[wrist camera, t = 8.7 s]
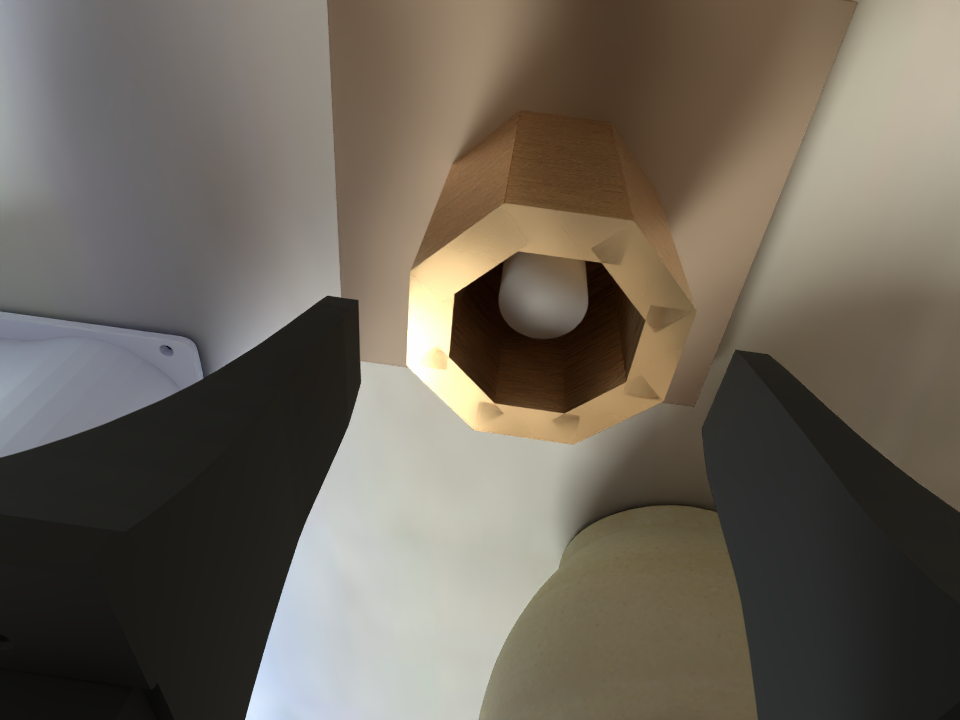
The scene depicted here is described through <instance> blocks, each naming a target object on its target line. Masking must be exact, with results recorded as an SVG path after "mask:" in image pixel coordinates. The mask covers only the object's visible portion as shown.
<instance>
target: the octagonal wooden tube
mask: <svg viewBox="0 0 960 720" xmlns="http://www.w3.org/2000/svg"><path fill="white" fill-rule="evenodd" d="M517 251H520V252H527V253H535V254H542V255H549V256H556V257H564V258H571V259H578V260H585V261H592V263H590V264H589V265H587V266H586V276H587V290H588V307H587V311H586V314H585V316H584V318H583V319H582V321H581V322H580V323H579V324H578V325H577V326H576V327H575V328H574V329H573V330H571V331H570V332H568V333H566V334H564V335H562V336H559V337H555V338H549V339H538V338H532V337H528V336H525V335H523V334H520V333H519V332H517V331H515V330H514V329H513V328H512V327H510V326H509V325H508V323H507V322H506V321H505V320H504V318H503V316H502V314H501V312H500V308H499V291H500V285H501V278H502V271H503V264H502V262H503V261H504V260H506V259H507V258H509V257H510V256H512V255H513V254H514V253H516V252H517ZM696 313H697V310H696V307H695V304H694V301H693V298H692V295H691V292H690V289H689V286H688V283H687V280H686V277H685V274H684V271H683V268H682V265H681V262H680V259H679V256H678V253H677V250H676V247H675V244H674V241H673V238H672V235H671V232H670V229H669V226H668V223H667V220H666V217H665V214H664V211H663V208H662V205H661V202H660V199H659V196H658V193H657V191H656V189H655V188H654V186H653V185H652V183H651V182H650V180H649V179H648V177H647V176H646V174H645V173H644V171H643V170H642V168H641V167H640V165H639V164H638V162H637V161H636V159H635V158H634V156H633V155H632V153H631V152H630V150H629V149H628V147H627V146H626V144H625V143H624V141H623V140H622V138H621V137H620V135H619V134H618V132H617V131H616V129H615V128H614V126H613V125H612V123H611V122H606V121H599V120H591V119H584V118H576V117H569V116H561V115H554V114H546V113H539V112H532V111H524V110H521V111H518V112H517V113H516V114H515V115H513V116H512V117H511V118H510V119H508V120H507V121H506V122H505V123H503V124H502V125H501V126H500V127H498V128H497V129H496V130H495V131H493V132H492V133H491V134H490V135H488V136H487V137H486V138H485V139H483V140H482V141H481V142H480V143H478V144H477V145H476V146H475V147H473V148H472V149H471V150H470V151H468V152H467V153H466V154H464V155H463V156H462V157H461V158H459V159H458V160H457V161H456V162H454V163H453V164H452V166H451V169H450V171H449V174H448V176H447V179H446V181H445V184H444V186H443V189H442V192H441V194H440V197H439V199H438V202H437V204H436V207H435V209H434V212H433V214H432V217H431V220H430V222H429V225H428V227H427V230H426V232H425V235H424V237H423V240H422V243H421V245H420V248H419V250H418V253H417V255H416V258H415V260H414V263H413V265H412V268H411V271H410V288H409V315H408V341H407V366H408V367H409V368H410V369H411V370H412V371H413V372H414V373H416V374H417V375H418V376H419V377H420V378H421V379H422V380H423V381H424V382H425V383H426V384H427V385H428V386H429V387H430V388H431V389H432V390H433V391H434V392H435V393H436V394H437V395H438V396H439V397H440V398H441V399H442V400H443V401H444V402H446V403H447V404H448V405H449V406H450V407H451V408H452V409H453V410H454V411H455V412H456V413H457V414H458V415H459V416H460V417H461V418H462V419H463V420H464V421H465V422H466V423H467V424H468V425H469V426H470V427H471V428H472V429H473V430H476V431H483V432H490V433H497V434H504V435H511V436H518V437H525V438H531V439H538V440H545V441H552V442H559V443H566V444H576V443H578V442H580V441H582V440H584V439H586V438H588V437H590V436H592V435H594V434H596V433H599V432H601V431H603V430H605V429H607V428H609V427H611V426H613V425H615V424H617V423H620V422H622V421H624V420H626V419H628V418H630V417H632V416H634V415H636V414H638V413H640V412H643V411H645V410H647V409H649V408H651V407H653V406H655V405H657V404H659V403H661V402H663V401H664V399H665V396H666V394H667V391H668V388H669V385H670V383H671V380H672V377H673V375H674V372H675V369H676V367H677V364H678V361H679V359H680V356H681V353H682V350H683V348H684V345H685V342H686V340H687V337H688V334H689V332H690V329H691V326H692V324H693V321H694V318H695V315H696Z"/></svg>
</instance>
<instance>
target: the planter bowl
mask: <svg viewBox="0 0 960 720" xmlns="http://www.w3.org/2000/svg"><path fill="white" fill-rule="evenodd" d="M479 720H758V717H757V708H756V700H755V692H754V685H753V677H752V670H751V662H750V655H749V648H748V642H747V636H746V630H745V623H744V617H743V611H742V605H741V600H740V595H739V591H738V587H737V582H736V578H735V574H734V571H733V567H732V564H731V560H730V557H729V553H728V549H727V546H726V542H725V539H724V535H723V532H722V528H721V524H720V521H719V517H718V514H717V512H714V511H710V510H706V509H701V508H696V507H689V506H678V505H663V506H649V507H642V508H635V509H631V510H627V511H623V512H619V513H616V514H613V515H610V516H608V517H606V518H603V519H601V520H599V521H597V522H595V523H593V524H591V525H590V526H588V527H587V528H585V529H584V530H582V531H581V532H580V533H579V534H578V535H577V536H576V537H575V538H574V539H573V540H572V541H571V542H570V543H569V545H568V546H567V548H566V549H565V551H564V553H563V555H562V558H561V561H560V565H559V569H558V570H557V571H556V572H555V573H554V574H553V575H552V576H551V577H550V578H549V579H548V580H547V582H546V583H545V584H544V585H543V586H542V587H541V588H540V590H539V591H538V592H537V593H536V595H535V596H534V597H533V598H532V600H531V601H530V602H529V604H528V605H527V607H526V608H525V610H524V611H523V613H522V614H521V616H520V617H519V619H518V620H517V622H516V624H515V625H514V627H513V629H512V630H511V632H510V633H509V635H508V637H507V639H506V641H505V643H504V645H503V647H502V650H501V652H500V654H499V656H498V658H497V661H496V663H495V666H494V668H493V671H492V674H491V677H490V680H489V683H488V686H487V689H486V692H485V696H484V700H483V703H482V707H481V711H480V716H479Z"/></svg>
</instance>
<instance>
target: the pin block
mask: <svg viewBox="0 0 960 720" xmlns="http://www.w3.org/2000/svg"><path fill="white" fill-rule="evenodd" d="M327 4H328V25H329V46H330V67H331V88H332V110H333V131H334V152H335V173H336V194H337V215H338V236H339V258H340V279H341V298H348V299H355V300H359V333H360V361H364V362H371V363H379V364H386V365H393V366H401V367H408V366H407V341H408V315H409V288H410V271H411V268H412V265H413V263H414V260H415V258H416V255H417V253H418V250H419V248H420V245H421V243H422V240H423V237H424V235H425V232H426V230H427V227H428V225H429V222H430V220H431V217H432V214H433V212H434V209H435V207H436V204H437V202H438V199H439V197H440V194H441V192H442V189H443V186H444V184H445V181H446V179H447V176H448V174H449V171H450V169H451V166H452V164H453V163H454V162H456V161H457V160H458V159H459V158H461V157H462V156H463V155H464V154H466V153H467V152H468V151H470V150H471V149H472V148H473V147H475V146H476V145H477V144H478V143H480V142H481V141H482V140H483V139H485V138H486V137H487V136H488V135H490V134H491V133H492V132H493V131H495V130H496V129H497V128H498V127H500V126H501V125H502V124H503V123H505V122H506V121H507V120H508V119H510V118H511V117H512V116H513V115H515V114H516V113H517V112H518V111H521V110H524V111H532V112H539V113H546V114H554V115H561V116H569V117H576V118H584V119H591V120H599V121H606V122H611V123H612V125H613V126H614V128H615V129H616V131H617V132H618V134H619V135H620V137H621V138H622V140H623V141H624V143H625V144H626V146H627V147H628V149H629V150H630V152H631V153H632V155H633V156H634V158H635V159H636V161H637V162H638V164H639V165H640V167H641V168H642V170H643V171H644V173H645V174H646V176H647V177H648V179H649V180H650V182H651V183H652V185H653V186H654V188H655V189H656V191H657V193H658V196H659V199H660V202H661V205H662V208H663V211H664V214H665V217H666V220H667V223H668V226H669V229H670V232H671V235H672V238H673V241H674V244H675V247H676V250H677V253H678V256H679V259H680V262H681V265H682V268H683V271H684V274H685V277H686V280H687V283H688V286H689V289H690V292H691V295H692V298H693V301H694V304H695V307H696V310H697V313H696V315H695V318H694V321H693V324H692V326H691V329H690V332H689V334H688V337H687V340H686V342H685V345H684V348H683V350H682V353H681V356H680V359H679V361H678V364H677V367H676V369H675V372H674V375H673V377H672V380H671V383H670V385H669V388H668V391H667V394H666V396H665V399H664V401H663V403H670V404H677V405H685V406H692V407H694V406H695V404H696V401H697V399H698V396H699V394H700V391H701V389H702V387H703V384H704V382H705V379H706V377H707V374H708V372H709V369H710V367H711V364H712V362H713V359H714V357H715V354H716V352H717V349H718V347H719V345H720V342H721V340H722V337H723V335H724V332H725V330H726V327H727V325H728V322H729V320H730V317H731V315H732V312H733V310H734V307H735V305H736V303H737V300H738V298H739V295H740V293H741V290H742V288H743V285H744V283H745V280H746V278H747V275H748V273H749V270H750V268H751V265H752V263H753V261H754V258H755V256H756V253H757V251H758V248H759V246H760V243H761V241H762V238H763V236H764V233H765V231H766V228H767V226H768V223H769V221H770V219H771V216H772V214H773V211H774V209H775V206H776V204H777V201H778V199H779V196H780V194H781V191H782V189H783V186H784V184H785V182H786V179H787V177H788V174H789V172H790V169H791V167H792V164H793V162H794V159H795V157H796V154H797V152H798V149H799V147H800V144H801V142H802V140H803V137H804V135H805V132H806V130H807V127H808V125H809V122H810V120H811V117H812V115H813V112H814V110H815V107H816V105H817V102H818V100H819V98H820V95H821V93H822V90H823V88H824V85H825V83H826V80H827V78H828V75H829V73H830V70H831V68H832V65H833V63H834V60H835V58H836V56H837V53H838V51H839V48H840V46H841V43H842V41H843V38H844V36H845V33H846V31H847V28H848V26H849V23H850V21H851V18H852V16H853V14H854V11H855V9H856V6H857V4H858V2H855V1H852V0H327ZM590 263H592V261H585V260H578V259H571V258H564V257H556V256H549V255H542V254H535V253H527V252H520V251H517V252H516V253H514V254H513V255H512V256H510V257H509V258H507V259H506V260H504V261H503V262H502V264H503V271H502V278H501V285H500V291H499V308H500V312H501V314H502V316H503V318H504V320H505V321H506V322H507V323H508V325H509V326H510V327H512V328H513V329H514V330H515V331H517V332H519V333H520V334H523V335H525V336H528V337H532V338H538V339H549V338H555V337H559V336H562V335H564V334H566V333H568V332H570V331H571V330H573V329H574V328H575V327H576V326H577V325H578V324H579V323H580V322H581V321H582V319H583V318H584V316H585V314H586V311H587V307H588V290H587V276H586V266H587V265H589V264H590ZM408 368H409V367H408Z"/></svg>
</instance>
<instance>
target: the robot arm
mask: <svg viewBox="0 0 960 720" xmlns="http://www.w3.org/2000/svg"><path fill="white" fill-rule="evenodd" d="M166 346H169V347H170V348H172V350H171V349H169V348H167V347H166ZM360 384H361V370H360V333H359V300H355V299H348V298H340V297H333V296H326V297H325V298H323V299H322V300H320V301H319V302H318V303H316V304H315V305H313V306H312V307H311V308H309V309H308V310H307V311H305V312H304V313H303V314H301V315H300V316H298V317H297V318H296V319H294V320H293V321H292V322H290V323H289V324H287V325H286V326H285V327H283V328H282V329H280V330H279V331H278V332H276V333H275V334H273V335H272V336H270V337H269V338H268V339H266V340H265V341H263V342H262V343H260V344H259V345H257V346H256V347H254V348H253V349H251V350H250V351H248V352H246V353H245V354H243V355H242V356H240V357H238V358H237V359H235V360H234V361H232V362H230V363H229V364H227V365H226V366H224V367H222V368H221V369H219V370H218V371H216V372H214V373H212V374H211V375H209V376H207V377H205V378H204V377H203V372H202V368H201V363H200V359H199V355H198V350H197V347H196V345H195V344H194V343H193V342H192V341H191V340H190V339H188V338H185V337H182V336H175V335H168V334H161V333H153V332H146V331H139V330H132V329H124V328H117V327H110V326H102V325H95V324H88V323H81V322H73V321H66V320H59V319H51V318H44V317H37V316H30V315H22V314H15V313H8V312H0V720H245V718H246V714H247V710H248V706H249V702H250V699H251V695H252V691H253V688H254V684H255V681H256V677H257V674H258V670H259V667H260V663H261V660H262V656H263V653H264V649H265V646H266V642H267V639H268V635H269V632H270V629H271V626H272V622H273V619H274V616H275V613H276V609H277V606H278V603H279V599H280V596H281V593H282V590H283V586H284V583H285V580H286V577H287V574H288V571H289V568H290V565H291V562H292V559H293V556H294V553H295V549H296V546H297V543H298V540H299V538H300V535H301V533H302V530H303V527H304V525H305V522H306V520H307V517H308V515H309V513H310V511H311V509H312V506H313V504H314V502H315V500H316V497H317V495H318V493H319V491H320V489H321V486H322V484H323V482H324V480H325V477H326V475H327V473H328V471H329V469H330V466H331V464H332V462H333V460H334V457H335V455H336V453H337V451H338V448H339V446H340V444H341V442H342V439H343V437H344V435H345V432H346V430H347V428H348V425H349V422H350V419H351V415H352V412H353V409H354V406H355V402H356V398H357V395H358V391H359V388H360ZM702 437H703V446H704V456H705V463H706V470H707V476H708V480H709V484H710V488H711V492H712V495H713V499H714V503H715V506H716V510H717V514H718V517H719V521H720V524H721V528H722V532H723V535H724V539H725V542H726V546H727V549H728V553H729V557H730V560H731V564H732V567H733V571H734V574H735V578H736V582H737V587H738V591H739V595H740V600H741V605H742V611H743V617H744V623H745V630H746V636H747V642H748V648H749V655H750V662H751V670H752V677H753V685H754V692H755V700H756V708H757V717H758V720H960V512H958V511H957V510H955V509H954V508H952V507H951V506H950V505H948V504H947V503H945V502H944V501H943V500H941V499H940V498H938V497H937V496H935V495H934V494H933V493H931V492H930V491H928V490H927V489H926V488H924V487H923V486H921V485H920V484H919V483H917V482H916V481H915V480H913V479H912V478H911V477H909V476H908V475H907V474H905V473H904V472H903V471H902V470H900V469H899V468H898V467H896V466H895V465H894V464H893V463H892V462H890V461H889V460H888V459H887V458H885V457H884V456H883V455H882V454H881V453H879V452H878V451H877V450H876V449H874V448H873V447H872V446H871V445H870V444H868V443H867V442H866V441H865V440H864V439H863V438H861V437H860V436H859V435H858V434H857V433H856V432H854V431H853V430H852V429H851V428H850V427H849V426H848V425H846V424H845V423H844V422H843V421H842V420H841V419H840V418H839V417H838V416H836V415H835V414H834V413H833V412H832V411H831V410H830V409H829V408H828V407H827V406H825V405H824V404H823V403H822V402H821V401H820V400H819V399H818V398H817V397H816V396H815V395H814V394H812V393H811V392H810V391H809V390H808V389H807V388H806V387H805V386H804V385H803V384H802V383H801V382H800V381H798V380H797V379H796V378H795V377H794V376H793V375H792V374H791V373H790V372H789V371H787V370H786V369H785V368H784V367H783V366H782V365H781V364H779V363H778V362H777V361H776V360H775V359H773V358H772V357H771V356H769V355H768V354H762V353H754V352H747V351H739V350H735V352H734V354H733V357H732V359H731V362H730V364H729V366H728V369H727V371H726V373H725V376H724V378H723V380H722V383H721V385H720V387H719V390H718V392H717V394H716V397H715V399H714V402H713V404H712V406H711V409H710V411H709V413H708V416H707V418H706V420H705V423H704V425H703V427H702Z"/></svg>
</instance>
